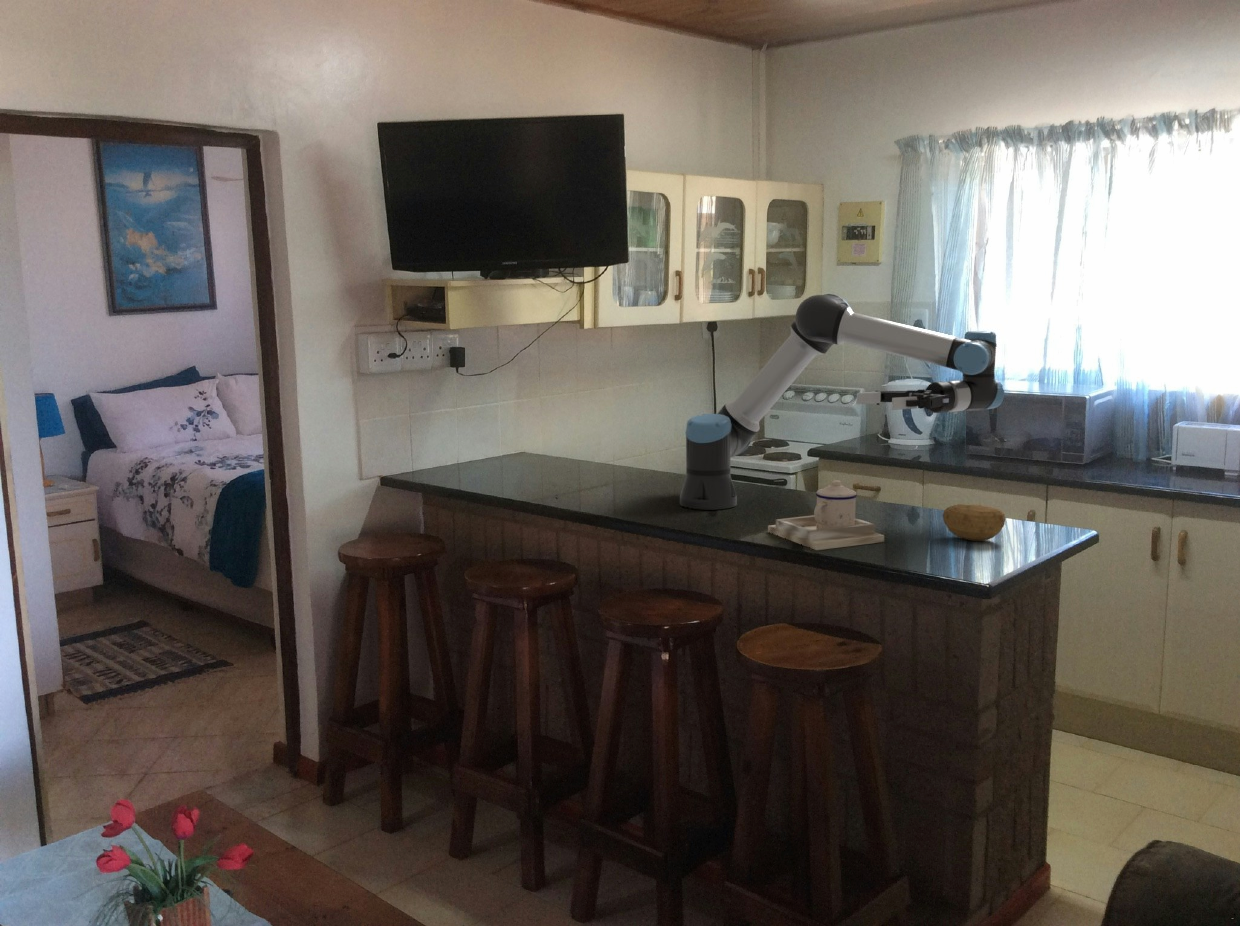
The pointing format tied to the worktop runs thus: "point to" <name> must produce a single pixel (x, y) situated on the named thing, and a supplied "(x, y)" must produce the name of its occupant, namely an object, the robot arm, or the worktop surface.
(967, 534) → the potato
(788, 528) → the cradle board
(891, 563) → the worktop surface
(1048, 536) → the worktop surface
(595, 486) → the worktop surface
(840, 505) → the teacup with lid
